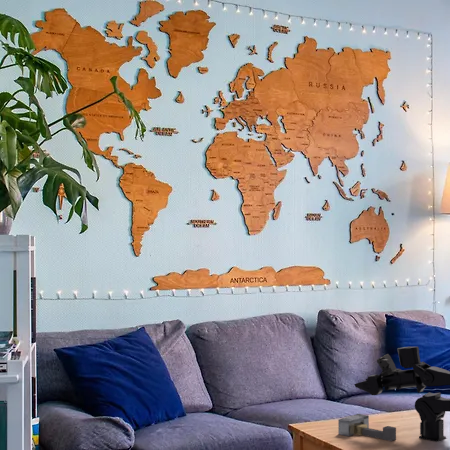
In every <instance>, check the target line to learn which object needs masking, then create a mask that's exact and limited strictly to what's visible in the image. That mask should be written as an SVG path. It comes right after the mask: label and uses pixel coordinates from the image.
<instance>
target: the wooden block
mask: <svg viewBox="0 0 450 450" xmlns="http://www.w3.org/2000/svg"><path fill="white" fill-rule="evenodd" d="M363 428H367V424H362V423H354V435H358V436H363V435H362V429H363Z"/></svg>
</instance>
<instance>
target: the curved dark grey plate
mask: <svg viewBox="0 0 450 450" xmlns="http://www.w3.org/2000/svg"><path fill="white" fill-rule="evenodd" d="M369 416H370V415H369V414H368V415H367V414H362V413H356V414H353V415H349V416H346V417H343V418H338V419H337V420H338V425H337V426H338V427H337V428H338V430H337V431H338V432H337V433H338V435H341V436H346V437H351V436H354V435H355V434H354V423H362V424H367V428H370V427H369V426H370V425H369V424H370V423H369V419H370V418H369Z"/></svg>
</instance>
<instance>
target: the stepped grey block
mask: <svg viewBox="0 0 450 450" xmlns="http://www.w3.org/2000/svg"><path fill="white" fill-rule="evenodd" d="M361 436H365V437H371V438H375V439H381V440H383V441H389V442H393V441H395V440H397V427H396V426H395V427H394V426H389V425H388V426H384V427H382V430H378V429H374V428H370V427H369V428H363V429H362V435H361Z"/></svg>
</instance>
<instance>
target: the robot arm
mask: <svg viewBox="0 0 450 450" xmlns="http://www.w3.org/2000/svg"><path fill="white" fill-rule="evenodd" d="M397 353H398V358H399V363H400V364H399V365H400V366H401V367H402V368H403V369H404V370H402V369H401V368H397V367H396V364H395V362H394V360H393V359H392V357H391V355H390V354H389V353H387V354H385V355H383V356H380V357H379V358H377V359H376V363H377V364H378V366H379V368H380V370H381V372H380V374H371V375H368V376H367V377H366V378H365V380H363V381H360V382H355V383H354V386H355V388H357V389H359V390H362V391H364V392H366V393H369V394H370V395H371V396H378V395H380V394H381V393H382V392H383V390H385V391H389V390H395V389H396V390H401V389H407V388H416V391H417V393H418V394H419V393H421V392H424V389H425V388H427V387H428V388H429V387H430V388H431V387H443V386H450V370H447V369H444V368H441V367H438V366H431V365H429V364H428V363H426V362H425V361H421V357H420V349H419V346H411V345H410V346H404V347H398V348H397ZM411 368H412V369H411ZM441 395H442V393H441V392H435V393H433V392H427V393H425V394H422V396H420V397H418V398H417V399H416V400H415V402H414V409H415V411H416V413H418V416H419V418H420V423H419V429H420V430H419V431H420V432H419V435H418V438H419V439H422V440H427V441H428V440H429V441H433V442H439V441H441V440H445V439H446V438H447V436H445V435H444V433H445V432H444V429H445V427H444V417H445V415H446V412H450V398H446V397H443V396H441Z"/></svg>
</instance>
